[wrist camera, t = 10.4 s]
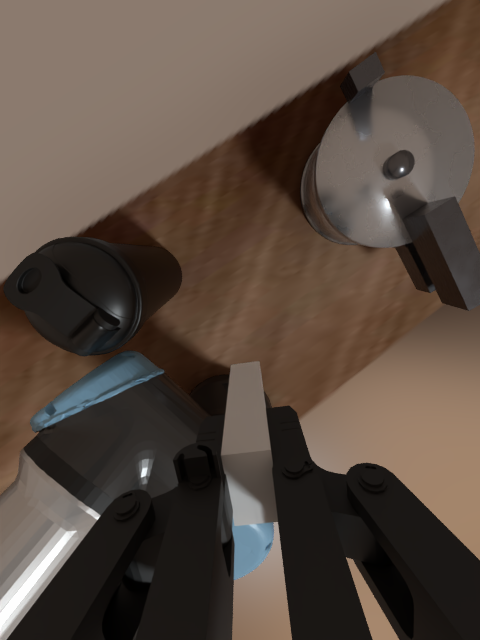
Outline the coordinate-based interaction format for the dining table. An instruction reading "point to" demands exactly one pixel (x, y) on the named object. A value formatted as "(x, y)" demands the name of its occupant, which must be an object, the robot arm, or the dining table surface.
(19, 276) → the water bottle
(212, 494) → the robot arm
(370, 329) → the dining table surface
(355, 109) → the lid
